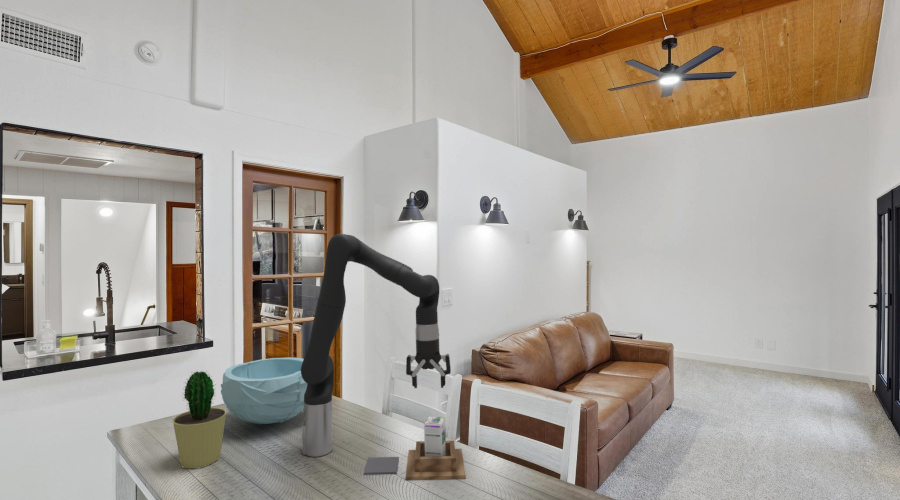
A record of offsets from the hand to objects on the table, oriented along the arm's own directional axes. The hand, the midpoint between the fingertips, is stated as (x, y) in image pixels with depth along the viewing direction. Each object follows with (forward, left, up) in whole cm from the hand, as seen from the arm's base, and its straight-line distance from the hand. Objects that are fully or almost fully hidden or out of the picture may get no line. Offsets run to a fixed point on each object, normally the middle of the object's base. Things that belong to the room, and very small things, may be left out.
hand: (429, 387), depth 147 cm
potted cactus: (-75, +6, -25) cm, 79 cm away
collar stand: (+2, -1, -25) cm, 25 cm away
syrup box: (+2, -1, -25) cm, 25 cm away
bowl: (-63, +37, -25) cm, 77 cm away
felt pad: (-15, -1, -25) cm, 29 cm away
